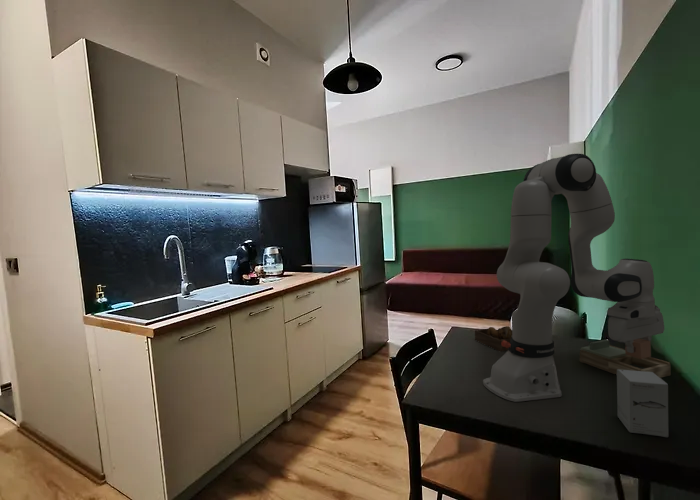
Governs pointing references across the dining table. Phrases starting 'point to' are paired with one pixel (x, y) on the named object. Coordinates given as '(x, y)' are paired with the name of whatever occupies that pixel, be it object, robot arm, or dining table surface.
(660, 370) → the wooden box
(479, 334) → the lion stand
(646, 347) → the cube
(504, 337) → the lion figurine
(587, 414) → the dining table surface
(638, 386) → the supplement box
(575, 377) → the dining table surface
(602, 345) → the cover
